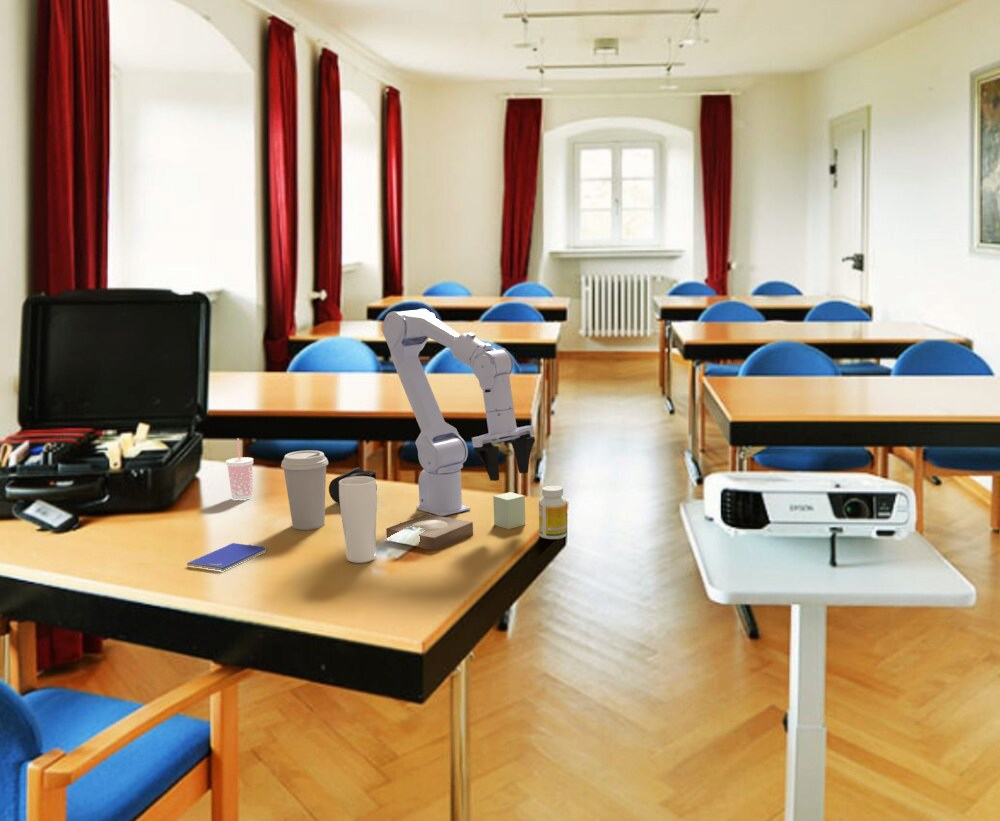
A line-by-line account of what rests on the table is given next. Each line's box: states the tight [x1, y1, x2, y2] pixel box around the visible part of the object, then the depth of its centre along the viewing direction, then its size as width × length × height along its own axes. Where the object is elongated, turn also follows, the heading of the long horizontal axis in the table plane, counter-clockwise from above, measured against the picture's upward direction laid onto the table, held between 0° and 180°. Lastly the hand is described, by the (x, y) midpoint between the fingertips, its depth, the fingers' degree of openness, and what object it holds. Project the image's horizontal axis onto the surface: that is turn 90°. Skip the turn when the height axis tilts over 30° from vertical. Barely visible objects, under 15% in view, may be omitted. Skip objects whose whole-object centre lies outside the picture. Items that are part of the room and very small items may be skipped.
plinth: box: [385, 513, 474, 551], centre depth 199 cm, size 12×12×2 cm
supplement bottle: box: [538, 485, 568, 540], centre depth 198 cm, size 5×5×10 cm
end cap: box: [328, 467, 378, 506], centre depth 228 cm, size 10×7×7 cm
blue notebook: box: [186, 542, 267, 572], centre depth 190 cm, size 2×8×12 cm
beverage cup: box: [225, 437, 254, 499], centre depth 233 cm, size 6×6×14 cm
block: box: [493, 491, 526, 530], centre depth 207 cm, size 4×4×6 cm
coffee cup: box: [280, 450, 329, 531], centre depth 209 cm, size 10×10×15 cm
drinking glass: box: [339, 476, 378, 564], centre depth 186 cm, size 7×7×15 cm
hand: (509, 476), depth 205 cm, fingers open, 7 cm apart
